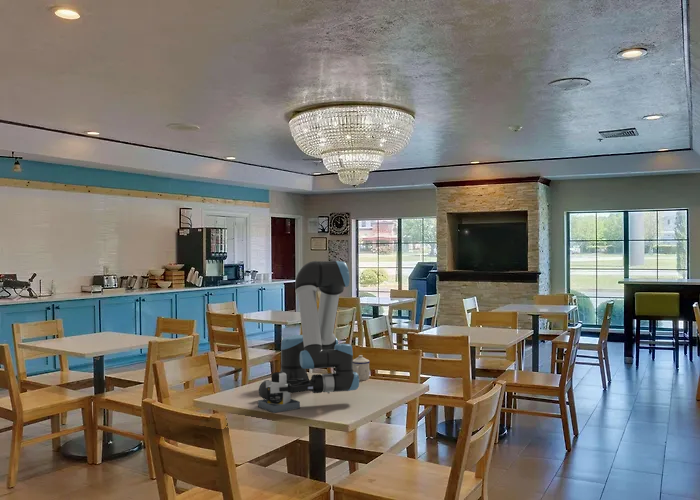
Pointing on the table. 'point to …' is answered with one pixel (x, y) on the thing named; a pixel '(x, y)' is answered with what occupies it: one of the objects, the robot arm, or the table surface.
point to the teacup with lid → (361, 367)
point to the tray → (278, 406)
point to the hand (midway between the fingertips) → (268, 386)
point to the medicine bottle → (278, 398)
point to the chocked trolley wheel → (263, 390)
